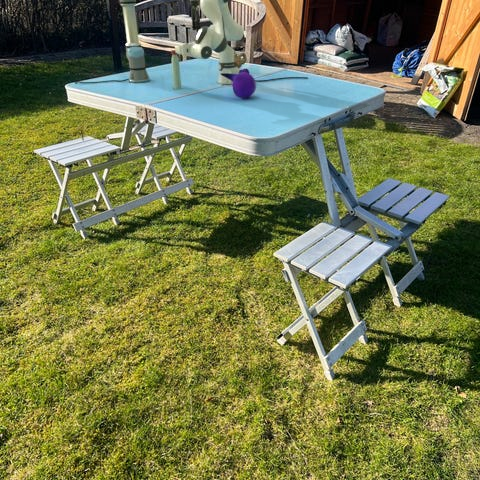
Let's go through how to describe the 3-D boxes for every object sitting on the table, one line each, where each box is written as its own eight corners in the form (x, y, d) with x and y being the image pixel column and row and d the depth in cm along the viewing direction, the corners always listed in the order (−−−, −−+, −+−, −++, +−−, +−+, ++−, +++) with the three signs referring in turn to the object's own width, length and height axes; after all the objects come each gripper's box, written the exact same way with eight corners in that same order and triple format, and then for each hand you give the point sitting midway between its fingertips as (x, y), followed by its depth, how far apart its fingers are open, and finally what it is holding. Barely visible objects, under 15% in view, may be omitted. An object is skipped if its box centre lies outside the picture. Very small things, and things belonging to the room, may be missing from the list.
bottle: (181, 89, 312) (178, 51, 300) (174, 89, 312) (170, 51, 299) (181, 87, 316) (178, 50, 304) (174, 88, 316) (170, 50, 304)
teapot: (227, 72, 362) (226, 52, 355) (220, 70, 371) (219, 51, 363) (249, 69, 371) (249, 50, 364) (242, 67, 380) (242, 48, 372)
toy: (241, 90, 304) (255, 103, 283) (217, 85, 296) (230, 99, 276) (247, 66, 296) (262, 78, 275) (223, 61, 288) (236, 73, 268)
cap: (178, 54, 301) (177, 50, 300) (171, 54, 300) (171, 51, 299) (177, 53, 305) (177, 49, 304) (171, 53, 304) (171, 50, 303)
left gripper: (203, 0, 327) (204, 32, 338) (195, -1, 348) (197, 29, 358) (192, 0, 325) (195, 32, 336) (186, -1, 346) (188, 29, 357)
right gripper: (210, 42, 274) (201, 40, 285) (179, 45, 266) (171, 42, 277) (211, 53, 278) (202, 51, 288) (180, 56, 269) (172, 53, 280)
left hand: (196, 30), depth 347 cm, fingers open, 13 cm apart
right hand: (186, 47), depth 282 cm, fingers open, 8 cm apart
